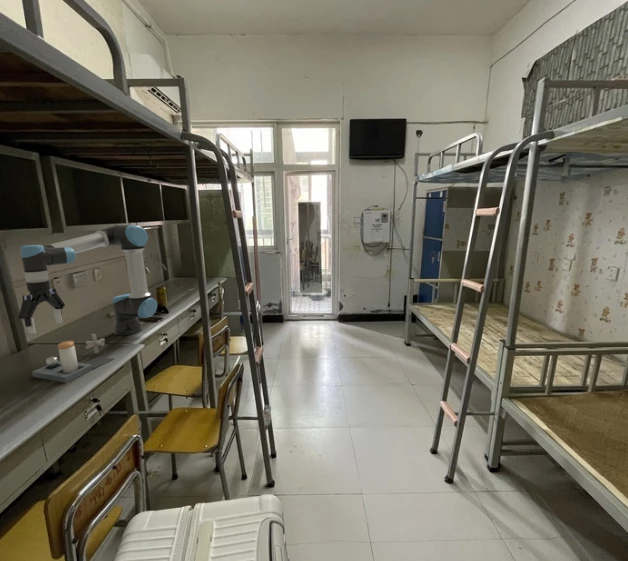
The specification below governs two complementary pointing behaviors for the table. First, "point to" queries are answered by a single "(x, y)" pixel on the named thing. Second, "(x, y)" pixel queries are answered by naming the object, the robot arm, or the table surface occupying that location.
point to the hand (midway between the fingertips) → (46, 327)
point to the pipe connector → (95, 343)
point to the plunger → (52, 362)
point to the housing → (61, 372)
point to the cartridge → (68, 357)
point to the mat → (98, 361)
